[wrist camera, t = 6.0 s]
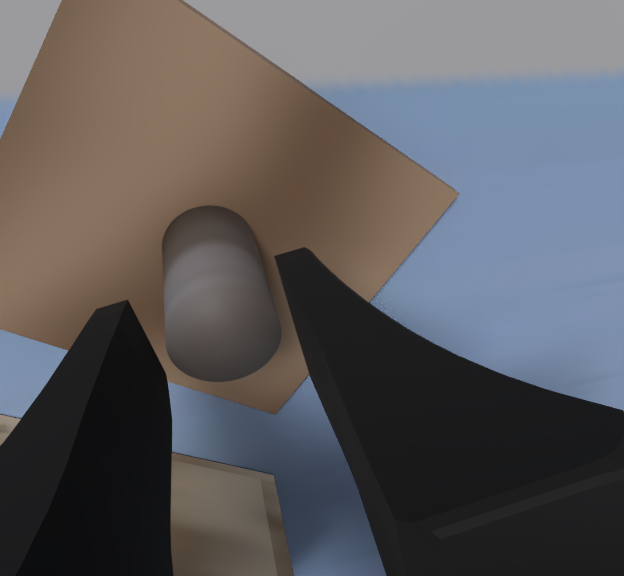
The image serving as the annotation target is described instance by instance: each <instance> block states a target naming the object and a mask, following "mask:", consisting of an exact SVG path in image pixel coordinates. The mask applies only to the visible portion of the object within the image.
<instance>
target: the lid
mask: <svg viewBox="0 0 624 576" xmlns="http://www.w3.org/2000/svg"><path fill="white" fill-rule="evenodd" d="M458 195H459V193H458V192H457V191H456V190H455V189H454V188H452V187H451V186H449V185H448V184H447V183H445V182H444V181H442V180H441V179H439V178H438V177H437V176H435V175H434V174H432V173H431V172H429V171H428V170H426V169H425V168H424V167H422V166H421V165H419V164H418V163H416V162H415V161H413V160H412V159H411V158H409V157H408V156H406V155H405V154H403V153H402V152H400V151H399V150H398V149H396V148H395V147H393V146H392V145H390V144H389V143H387V142H386V141H385V140H383V139H382V138H380V137H379V136H377V135H376V134H374V133H373V132H372V131H370V130H369V129H367V128H366V127H364V126H363V125H361V124H360V123H359V122H357V121H356V120H354V119H353V118H351V117H350V116H348V115H347V114H346V113H344V112H343V111H341V110H340V109H338V108H337V107H335V106H334V105H333V104H331V103H330V102H328V101H327V100H325V99H324V98H322V97H321V96H320V95H318V94H317V93H315V92H314V91H312V90H311V89H309V88H308V87H307V86H306V85H305V84H303V83H302V82H301V81H299V80H298V79H296V78H295V77H293V76H292V75H290V74H289V73H287V72H286V71H285V70H283V69H282V68H280V67H279V66H277V65H276V64H275V63H273V62H272V61H270V60H269V59H267V58H266V57H264V56H263V55H261V54H260V53H259V52H257V51H256V50H254V49H253V48H251V47H250V46H248V45H247V44H246V43H244V42H243V41H241V40H240V39H238V38H237V37H235V36H234V35H233V34H231V33H230V32H228V31H227V30H225V29H224V28H222V27H221V26H220V25H218V24H217V23H215V22H214V21H212V20H211V19H209V18H208V17H207V16H205V15H204V14H202V13H201V12H199V11H198V10H196V9H195V8H193V7H192V6H190V5H189V4H188V3H186V2H185V1H183V0H62V2H61V4H60V6H59V8H58V11H57V13H56V15H55V17H54V19H53V22H52V24H51V26H50V28H49V31H48V33H47V35H46V38H45V40H44V42H43V44H42V47H41V49H40V51H39V53H38V56H37V58H36V60H35V63H34V65H33V67H32V69H31V71H30V74H29V76H28V78H27V81H26V83H25V85H24V87H23V89H22V92H21V94H20V96H19V98H18V101H17V103H16V105H15V108H14V110H13V112H12V114H11V117H10V119H9V121H8V123H7V126H6V128H5V130H4V132H3V135H2V137H1V139H0V329H1V330H5V331H8V332H11V333H14V334H17V335H21V336H24V337H27V338H30V339H33V340H37V341H40V342H43V343H46V344H50V345H53V346H56V347H59V348H62V349H66V350H69V349H70V348H71V346H72V345H73V343H74V342H75V340H76V338H77V337H78V335H79V334H80V332H81V331H82V329H83V328H84V326H85V325H86V323H87V321H88V320H89V319H90V317H91V316H92V314H93V313H94V311H95V310H96V309H98V308H101V307H104V306H108V305H111V304H114V303H118V302H121V301H124V300H128V301H129V303H130V305H131V306H132V308H133V310H134V312H135V314H136V316H137V318H138V320H139V322H140V324H141V326H142V328H143V330H144V332H145V334H146V336H147V338H148V339H149V341H150V343H151V345H152V347H153V349H154V351H155V353H156V355H157V357H158V359H159V361H160V363H161V365H162V367H163V369H164V370H165V372H166V375H167V381H168V382H172V383H175V384H178V385H181V386H185V387H188V388H191V389H194V390H197V391H201V392H204V393H207V394H210V395H213V396H217V397H220V398H223V399H226V400H230V401H233V402H236V403H239V404H242V405H246V406H249V407H252V408H255V409H258V410H262V411H265V412H268V413H271V414H274V415H275V414H276V413H277V412H278V411H279V409H280V408H281V407H282V406H283V405H284V403H285V402H286V401H287V400H288V399H289V397H290V396H291V395H292V394H293V393H294V391H295V390H296V389H297V388H298V387H299V385H300V384H301V383H302V382H303V381H304V379H305V378H306V377H307V376H308V375H309V371H308V368H307V365H306V362H305V359H304V356H303V352H302V349H301V346H300V343H299V339H298V336H297V333H296V330H295V326H294V323H293V319H292V316H291V312H290V309H289V306H288V302H287V299H286V295H285V292H284V288H283V285H282V282H281V278H280V275H279V271H278V268H277V264H276V261H275V258H274V256H276V255H279V254H282V253H286V252H289V251H293V250H296V249H299V248H303V247H306V248H307V249H309V250H311V251H312V252H313V253H314V255H315V256H316V257H317V258H318V259H319V260H320V261H321V262H322V263H323V264H324V265H325V266H326V267H327V268H328V269H329V270H330V271H331V272H332V273H333V274H335V275H336V276H337V277H338V278H339V279H340V280H341V281H342V282H344V283H345V284H346V285H347V286H348V287H350V288H351V289H352V290H353V291H355V292H356V293H357V294H358V295H360V296H361V297H362V298H363V299H365V300H366V301H367V302H370V300H371V299H372V298H373V297H374V296H375V294H376V293H377V292H378V291H379V290H380V288H381V287H382V286H383V285H384V284H385V282H386V281H387V280H388V279H389V278H390V276H391V275H392V274H393V273H394V272H395V270H396V269H397V268H398V267H399V266H400V264H401V263H402V262H403V261H404V260H405V258H406V257H407V256H408V255H409V254H410V252H411V251H412V250H413V249H414V248H415V246H416V245H417V244H418V243H419V242H420V241H421V239H422V238H423V237H424V236H425V235H426V233H427V232H428V231H429V230H430V229H431V227H432V226H433V225H434V224H435V223H436V221H437V220H438V219H439V218H440V217H441V215H442V214H443V213H444V212H445V211H446V209H447V208H448V207H449V206H450V205H451V203H452V202H453V201H454V200H455V199H456V197H457V196H458Z"/></svg>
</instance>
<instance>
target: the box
mask: <svg viewBox="0 0 624 576" xmlns="http://www.w3.org/2000/svg"><path fill="white" fill-rule="evenodd" d="M20 420H21V419H18V418H14V417H9V416H5V415H0V446H1V444H2V443H3V442H4V441H5V439H6V438H7V437H8V436H9V434H10V433H11V432H12V431H13V429H14V428H15V426H16V425H17V424H18V422H19V421H20ZM171 553H172V564H173V575H174V576H294V573H293V568H292V564H291V559H290V554H289V549H288V544H287V539H286V534H285V529H284V524H283V519H282V514H281V509H280V504H279V499H278V494H277V489H276V484H275V479H274V475H271V474H267V473H262V472H258V471H253V470H249V469H244V468H240V467H235V466H231V465H226V464H222V463H217V462H213V461H208V460H203V459H199V458H194V457H190V456H185V455H181V454H176V453H172V468H171Z"/></svg>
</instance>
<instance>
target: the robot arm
mask: <svg viewBox="0 0 624 576" xmlns="http://www.w3.org/2000/svg"><path fill="white" fill-rule="evenodd" d="M274 258H275V261H276V264H277V268H278V271H279V275H280V278H281V282H282V285H283V288H284V292H285V295H286V299H287V302H288V306H289V309H290V312H291V316H292V319H293V323H294V326H295V330H296V333H297V336H298V339H299V343H300V346H301V349H302V352H303V356H304V359H305V362H306V365H307V368H308V371H309V375H310V377H311V380H312V382H313V384H314V387H315V389H316V391H317V393H318V396H319V398H320V400H321V403H322V405H323V407H324V410H325V412H326V414H327V416H328V419H329V421H330V423H331V426H332V428H333V430H334V432H335V435H336V437H337V439H338V441H339V444H340V446H341V448H342V451H343V453H344V455H345V457H346V460H347V462H348V464H349V467H350V469H351V472H352V474H353V477H354V479H355V482H356V485H357V487H358V490H359V493H360V496H361V499H362V502H363V505H364V508H365V511H366V514H367V517H368V520H369V523H370V526H371V530H372V533H373V536H374V539H375V542H376V545H377V548H378V551H379V554H380V557H381V560H382V563H383V566H384V569H385V572H386V575H387V576H624V411H623V410H620V409H616V408H612V407H609V406H605V405H601V404H598V403H594V402H590V401H586V400H583V399H579V398H575V397H572V396H568V395H564V394H561V393H557V392H553V391H550V390H547V389H543V388H540V387H538V386H535V385H532V384H529V383H526V382H523V381H520V380H517V379H514V378H511V377H508V376H506V375H503V374H500V373H498V372H495V371H493V370H491V369H488V368H486V367H484V366H481V365H479V364H477V363H474V362H472V361H469V360H467V359H465V358H462V357H460V356H458V355H456V354H454V353H452V352H450V351H448V350H446V349H444V348H442V347H440V346H438V345H436V344H434V343H432V342H430V341H428V340H427V339H425V338H423V337H421V336H419V335H417V334H416V333H414V332H412V331H411V330H409V329H407V328H406V327H404V326H402V325H401V324H399V323H398V322H396V321H395V320H393V319H392V318H390V317H389V316H387V315H386V314H384V313H383V312H381V311H380V310H378V309H377V308H376V307H374V306H373V305H371V304H370V303H369V302H367V301H366V300H365V299H363V298H362V297H361V296H360V295H358V294H357V293H356V292H355V291H353V290H352V289H351V288H350V287H348V286H347V285H346V284H345V283H344V282H342V281H341V280H340V279H339V278H338V277H337V276H336V275H335V274H333V273H332V272H331V271H330V270H329V269H328V268H327V267H326V266H325V265H324V264H323V263H322V262H321V261H320V260H319V259H318V258H317V257H316V256H315V255H314V253H313V252H312V251H311V250H309V249H307V248H306V247H303V248H299V249H296V250H293V251H289V252H286V253H282V254H279V255H276V256H274ZM171 468H172V415H171V406H170V397H169V390H168V383H167V375H166V372H165V370H164V369H163V367H162V365H161V363H160V361H159V359H158V357H157V355H156V353H155V351H154V349H153V347H152V345H151V343H150V341H149V339H148V338H147V336H146V334H145V332H144V330H143V328H142V326H141V324H140V322H139V320H138V318H137V316H136V314H135V312H134V310H133V308H132V306H131V305H130V303H129V301H128V300H124V301H121V302H118V303H114V304H111V305H108V306H104V307H101V308H98V309H96V310H95V311H94V313H93V314H92V316H91V317H90V319H89V320H88V321H87V323H86V325H85V326H84V328H83V329H82V331H81V332H80V334H79V335H78V337H77V338H76V340H75V342H74V343H73V345H72V346H71V348H70V349H69V351H68V352H67V354H66V356H65V357H64V359H63V360H62V362H61V363H60V365H59V366H58V368H57V369H56V371H55V372H54V374H53V375H52V377H51V378H50V380H49V381H48V383H47V384H46V386H45V387H44V388H43V390H42V391H41V393H40V394H39V395H38V397H37V398H36V399H35V401H34V402H33V403H32V405H31V406H30V407H29V409H28V410H27V412H26V413H25V414H24V416H23V417H22V418H21V420H20V421H19V422H18V424H17V425H16V426H15V428H14V429H13V431H12V432H11V433H10V434H9V436H8V437H7V438H6V439H5V441H4V442H3V443H2V444H1V446H0V576H174V575H173V564H172V553H171Z"/></svg>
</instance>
